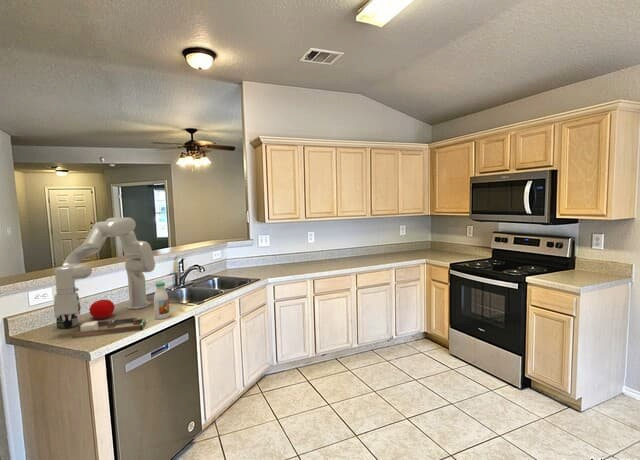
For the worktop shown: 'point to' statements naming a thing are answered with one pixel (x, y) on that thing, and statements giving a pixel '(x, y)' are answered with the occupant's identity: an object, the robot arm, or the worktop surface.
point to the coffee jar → (61, 323)
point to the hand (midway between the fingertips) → (68, 327)
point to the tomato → (101, 309)
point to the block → (89, 326)
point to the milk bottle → (161, 302)
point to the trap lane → (112, 330)
